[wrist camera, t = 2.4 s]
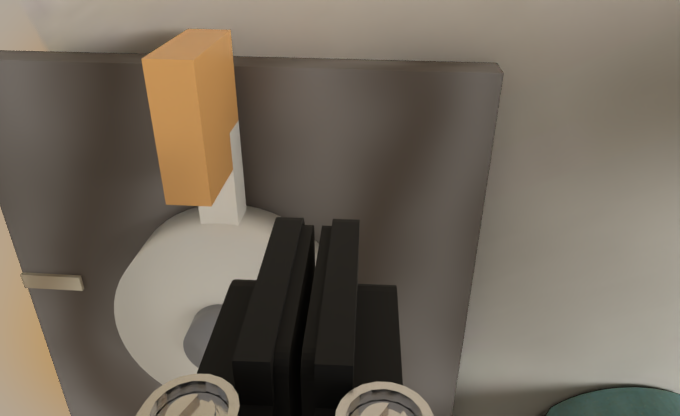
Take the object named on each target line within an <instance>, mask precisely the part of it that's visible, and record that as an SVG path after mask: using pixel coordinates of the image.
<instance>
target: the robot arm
mask: <svg viewBox="0 0 680 416" xmlns="http://www.w3.org/2000/svg"><path fill="white" fill-rule="evenodd" d="M359 230H360V220H358V219H333V221H332V226H323V225H322V228H321V234H320V241H319V247H318V253H317V260H316V266H315V231H314V225H305V222H304V218H295V217H276V219H275V222H274V225H273V228H272V232H271V235H270V238H269V241H268V244H267V248H266V251H265V254H264V257H263V261H262V264H261V267H260V270H259V274H258V277H257V280H242V279H234V280H233V281H232V282H231V284H230V286H229V288H228V291H227V294H226V296H225V299H224V302H223V304H222V307H221V310H220V312H219V315H218V318H217V320H216V323H215V326H214V328H213V331H212V334H211V336H210V339H209V342H208V344H207V347H206V350H205V352H204V355H203V358H202V360H201V363H200V366H199V368H198V371H197V374H190V375H185V376H180V377H178V378H176V379H173V380H171V381H168V382H166V383H165V384H163V385H162V386H161V387H159V388H158V389H156V390H155V391H154V392H153V393H152V394H151V395H150V396H149V397H148V399H147V400H146V401H145V402H144V404H143V405H142V407H141V408H140V410H139V411H138V413H137V414H136V416H434V415H433V413H432V411H431V409H430V407H429V405H428V403H427V402H426V401H425V400H424V399H423V398H422V397H421V396H420V395H419V394H418V393H416V392H414V391H413V390H411V389H409V388H408V387H406V386H403V379H402V362H401V346H400V329H399V313H398V296H397V286H396V285H379V284H358V268H359Z"/></svg>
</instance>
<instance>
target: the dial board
mask: <svg viewBox="0 0 680 416" xmlns="http://www.w3.org/2000/svg"><path fill="white" fill-rule="evenodd" d="M146 55H148V54H122V53H82V52H43V51H4V50H0V206H1V209H2V212H3V215H4V218H5V221H6V224H7V227H8V230H9V233H10V236H11V239H12V242H13V245H14V248H15V251H16V254H17V257H18V260H19V263H20V266H21V269H22V272H23V273H22V274H21V277H22V280H23V284H24V287H25V288H28V289H29V292H30V295H31V298H32V301H33V304H34V307H35V310H36V313H37V316H38V319H39V322H40V325H41V328H42V331H43V334H44V337H45V340H46V343H47V346H48V349H49V352H50V355H51V358H52V361H53V364H54V366H55V370H56V373H57V376H58V379H59V381H60V384H61V387H62V390H63V393H64V396H65V399H66V402H67V405H68V408H69V411H70V414H71V416H136V414H137V413H138V411H139V410H140V408H141V407H142V405H143V404H144V402H145V401H146V400H147V399H148V397H149V396H150V395H151V394H152V393H153V392H154V391H155V390H156V389H158V388H159V387H161V386H162V384H160V383H159V382H158V381H156V380H155V379H154V378H153V377H151V376H150V375H149V374H148V373H147V372H146V371H145V370H143V369H142V368H141V367H140V366H139V364H138V363H137V362H136V361H135V360H134V359H133V357H132V356H131V355H130V353H129V352H128V350H127V349H126V347H125V345H124V343H123V341H122V339H121V337H120V335H119V332H118V329H117V326H116V322H115V316H114V299H115V293H116V289H117V287H118V284H119V281H120V279H121V277H122V276H123V274H124V272H125V271H126V269H127V268H128V266H129V265H130V264H131V262H132V261H133V259H134V258H135V257H136V255H137V254H138V252H139V251H140V250H141V248H142V247H143V245H144V244H145V243H146V241H147V240H148V238H149V237H150V236H151V235H152V234H153V232H154V231H155V230H156V229H157V228H158V227H159V226H160V225H162V224H163V223H164V222H165V221H167V220H168V219H170V218H171V217H173V216H175V215H176V214H179V213H181V212H184V211H186V210H188V209H192V208H196V207H198V206H187V205H166V202H165V196H164V190H163V184H162V178H161V172H160V167H159V161H158V155H157V149H156V143H155V137H154V131H153V125H152V119H151V113H150V108H149V102H148V96H147V90H146V84H145V78H144V72H143V66H142V60H141V59H142V58H143V57H145V56H146ZM233 63H234V75H235V86H236V97H237V108H238V120H239V131H240V142H241V153H242V165H243V176H244V187H245V199H246V206H250V207H255V208H259V209H262V210H265V211H268V212H271V213H274V214H276V215H278V216H281V217H295V218H304V222H305V225H314V231H315V241H316V242H317V243H318V244H319V241H320V234H321V228H322V225H323V226H332V221H333V219H358V220H360V230H359V268H358V284H379V285H396V286H397V296H398V313H399V329H400V346H401V362H402V379H403V386H406V387H408V388H409V389H411V390H413V391H414V392H416V393H418V394H419V395H420V396H421V397H422V398H423V399H424V400H425V401H426V402H427V403H428V405H429V407H430V409H431V411H432V413H433V415H434V416H452V412H453V405H454V398H455V392H456V385H457V378H458V372H459V365H460V359H461V352H462V345H463V339H464V332H465V325H466V319H467V312H468V306H469V299H470V292H471V286H472V279H473V273H474V266H475V259H476V253H477V246H478V239H479V233H480V226H481V220H482V213H483V206H484V200H485V193H486V186H487V180H488V173H489V167H490V160H491V153H492V147H493V140H494V133H495V127H496V120H497V114H498V107H499V100H500V94H501V87H502V80H503V74H504V73H503V72H502V70H501V69H500V67H499V65H498V64H497V63H476V62H436V61H397V60H358V59H318V58H279V57H240V56H233Z"/></svg>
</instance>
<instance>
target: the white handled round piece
mask: <svg viewBox="0 0 680 416" xmlns="http://www.w3.org/2000/svg"><path fill="white" fill-rule="evenodd" d="M141 60H142V66H143V72H144V78H145V84H146V90H147V96H148V102H149V108H150V113H151V119H152V125H153V131H154V137H155V143H156V149H157V155H158V161H159V167H160V172H161V178H162V184H163V190H164V196H165V202H166V205H187V206H198V207H196V208H192V209H188V210H186V211H184V212H181V213H179V214H176V215H175V216H173V217H171V218H170V219H168V220H167V221H165V222H164V223H163V224H162V225H160V226H159V227H158V228H157V229H156V230H155V231H154V232H153V234H152V235H151V236H150V237H149V238H148V240H147V241H146V243H145V244H144V245H143V247H142V248H141V250H140V251H139V252H138V254H137V255H136V257H135V258H134V259H133V261H132V262H131V264H130V265H129V266H128V268H127V269H126V271H125V272H124V274H123V276H122V277H121V279H120V281H119V284H118V287H117V289H116V293H115V299H114V316H115V322H116V326H117V329H118V332H119V335H120V337H121V339H122V341H123V343H124V345H125V347H126V349H127V350H128V352H129V353H130V355H131V356H132V357H133V359H134V360H135V361H136V362H137V363H138V364H139V366H140V367H141V368H142V369H143V370H145V371H146V372H147V373H148V374H149V375H150V376H151V377H153V378H154V379H155V380H156V381H158V382H159V383H160V384H162V385H163V384H165V383H166V382H168V381H171V380H173V379H176V378H178V377H180V376H185V375H190V374H197V371H198V368H199V366H200V363H201V360H202V358H203V355H204V352H205V350H206V347H207V344H208V342H209V339H210V336H211V334H212V331H213V328H214V326H215V323H216V320H217V318H218V315H219V312H220V310H221V307H222V304H223V302H224V299H225V296H226V294H227V291H228V288H229V286H230V284H231V282H232V281H233V280H234V279H242V280H257V277H258V274H259V270H260V267H261V264H262V261H263V257H264V254H265V251H266V248H267V244H268V241H269V238H270V235H271V232H272V228H273V225H274V222H275V219H276V217H281V216H278V215H276V214H274V213H271V212H268V211H265V210H262V209H259V208H255V207H250V206H246V199H245V187H244V176H243V165H242V153H241V142H240V131H239V120H238V108H237V97H236V86H235V75H234V63H233V52H232V41H231V30H218V29H187V30H185V31H184V32H182V33H181V34H179V35H178V36H176V37H174V38H173V39H171V40H170V41H168V42H167V43H165V44H163V45H162V46H160V47H159V48H157V49H156V50H154V51H153V52H151V53H149V54H148V55H146V56H145V57H143V58H142V59H141ZM318 247H319V244H318V243H317V242H316V241H315V266H316V260H317V253H318Z"/></svg>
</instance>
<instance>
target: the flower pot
mask: <svg viewBox="0 0 680 416" xmlns="http://www.w3.org/2000/svg"><path fill="white" fill-rule="evenodd" d="M546 416H680V394H677V393H673V392H669V391H665V390H659V389H652V388H639V387H628V388H612V389H605V390H598V391H594V392H590V393H585V394H581V395H578V396H576V397H573V398H570V399H567V400H565V401H563V402H561V403H559V404H557V405H555V406H553V407H552V408H550V410H549V411H548V413H547V415H546Z"/></svg>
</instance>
